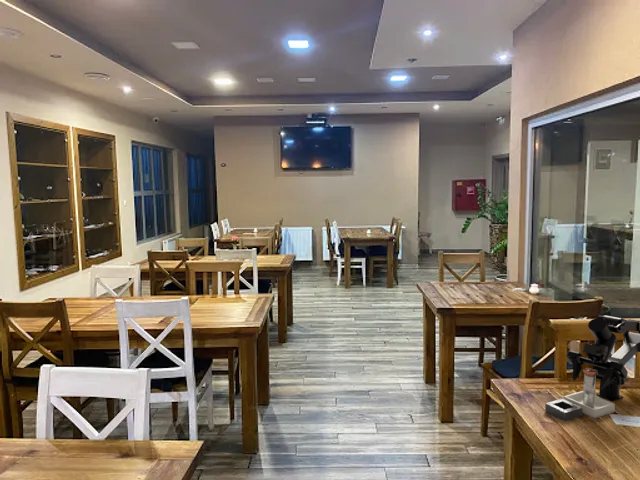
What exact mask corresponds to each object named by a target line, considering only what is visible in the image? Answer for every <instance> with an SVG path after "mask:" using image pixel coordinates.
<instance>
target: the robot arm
mask: <svg viewBox="0 0 640 480" xmlns="http://www.w3.org/2000/svg"><path fill="white" fill-rule="evenodd" d="M587 324H588V325H587V326H588V329H589V331H590V333H591V334H592V335H593V337H594V338H595V341H594V342H593V343H592V344H590V343H586V342H585V343H584V344H583V348H582V353H584V354H585V355H586V357H584V356H583V355H582V353H581V352H579V351H575V350H572V349H571V350H568V351H567V353H566V355H565V356H566V358H567V360H568V361H569V362H570V363H571V364H572V381H574V382H575V381H576V380H577V379H578V377H579V375H580V373H581V372H582V370H583V365H584V364H587V365H591V366H593V368H592V369H595V370H597V371H598V375H596V380H597V379H598V380H599V392H595V396H597V397H600V398H602V399H605V400H607V401H609V402H614V401H618V400H620V399H624V396H623V395H621V394H620V386H621V385H622V386H623V385H624V386H625V385H626V378H627V376H628V374H629V373H628V370H627V369H626V367H625V365H626V364H627V363H629V361H630V360H632V358H633V357H635V356H636V355H637V353H640V320H636V319H625V318H623V317H617V316H611V315H607V314H606V315H598V316H597V317H595V318H592V319H591V320H590V321H588V323H587ZM615 334H620V335H622V334H623V339H624V343H623V345H621V347H619V348H618V349H617V350H616V351H615V352H614V353H613V354H612V352H613V350H614V347H615V345H616V344H618V338H617V336H616V335H615Z"/></svg>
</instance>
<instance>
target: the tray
mask: <svg viewBox="0 0 640 480" xmlns="http://www.w3.org/2000/svg"><path fill="white" fill-rule="evenodd" d="M563 399H564V400H566V401H569V402H571V403H573V404H575V405H577V406H580V407H582V415H583V414H584V415H586V416H587V417H590V418H592V419H594V420H595V419H597V418H600V417H604V416H607V415H610V414H613V413H615V411H616V409H615V408H616V407H615V406H616V405H615V404H616V403H614V402H613V401H610V400H607V399H605V398H602V397H600V396H598V395H595V408H591V407H589V406H586V405H584V404H583V390H582V391H581V390H580V391H578V392H574V393H569V394H567V395H564V396H563Z"/></svg>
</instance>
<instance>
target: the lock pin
mask: <svg viewBox="0 0 640 480" xmlns="http://www.w3.org/2000/svg"><path fill="white" fill-rule="evenodd" d="M582 373H583V374H584V375H583V390H582V391H583V404H584V405H586V406H589V407H591V408H595V396H596V381H597V379H596V375H598V371H597V370H595V369H593V368H591V367H584V368H583V367H582Z"/></svg>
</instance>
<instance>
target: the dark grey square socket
mask: <svg viewBox="0 0 640 480" xmlns="http://www.w3.org/2000/svg"><path fill="white" fill-rule="evenodd" d="M544 407H545V410H544V411H545V413H547V414H549V415H551V416H553V417H555V418H558V419H559V420H561V421H563V422H567V421H571V420H574V419H578V418H580V417H583V413H582V407H580V406H577V405H575V404H573V403H571V402H569V401H566V400H564V398H559V399H556V400H553V401H549V402H546V403H545V406H544Z"/></svg>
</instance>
